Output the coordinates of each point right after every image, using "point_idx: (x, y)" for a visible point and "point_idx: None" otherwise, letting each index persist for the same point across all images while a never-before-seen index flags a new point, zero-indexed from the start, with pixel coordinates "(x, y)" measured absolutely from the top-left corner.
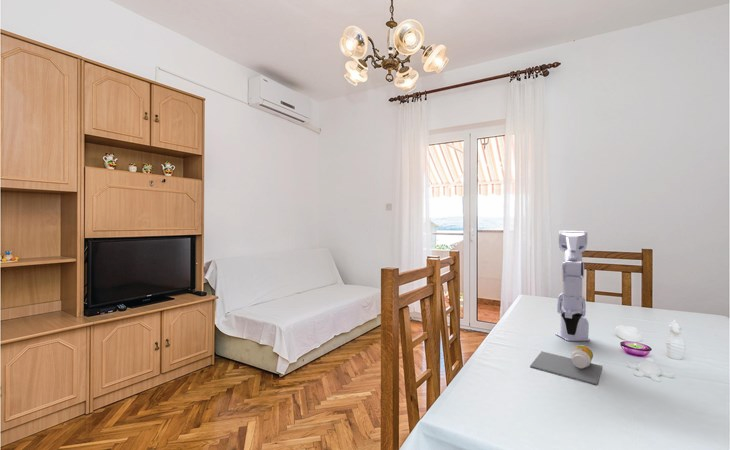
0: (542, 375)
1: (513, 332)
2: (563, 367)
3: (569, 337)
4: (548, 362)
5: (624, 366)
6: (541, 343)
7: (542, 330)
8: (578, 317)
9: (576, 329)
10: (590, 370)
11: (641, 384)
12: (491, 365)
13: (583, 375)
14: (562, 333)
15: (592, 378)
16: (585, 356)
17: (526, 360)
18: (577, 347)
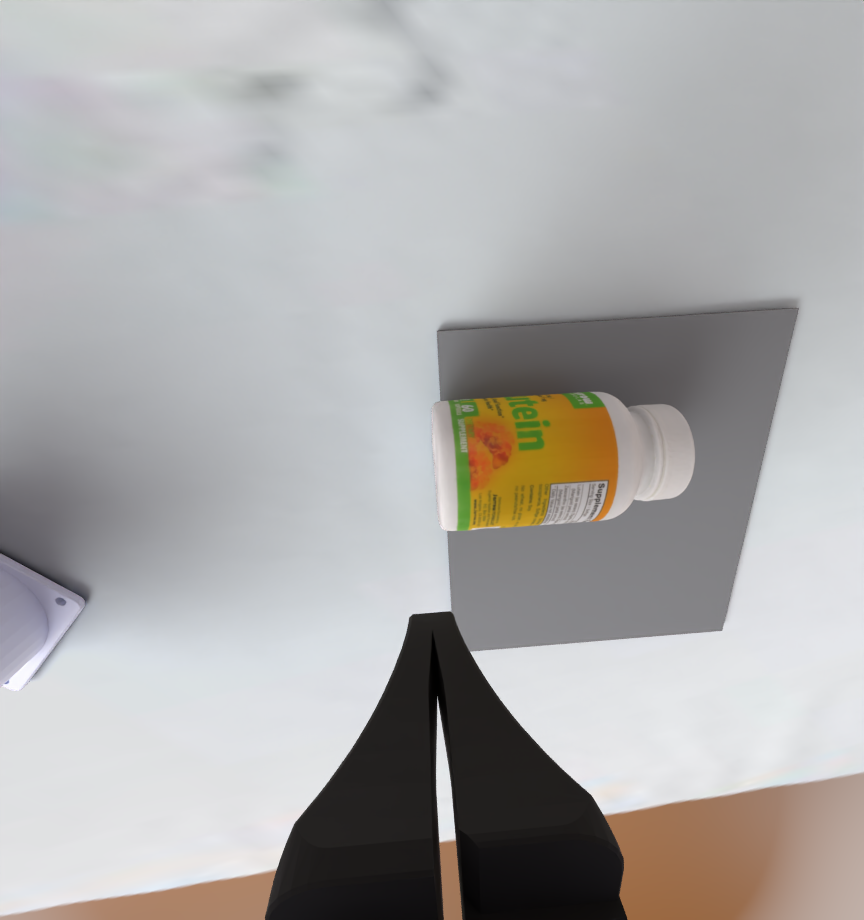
0: (796, 557)
1: (239, 820)
2: (641, 509)
3: (34, 612)
4: (613, 583)
5: (288, 189)
6: (294, 686)
7: (25, 748)
8: (613, 855)
9: (406, 648)
10: (587, 379)
11: (602, 30)
12: (792, 731)
13: (703, 397)
14: (23, 665)
15: (723, 345)
16: (638, 433)
17: (634, 660)
18: (510, 520)
